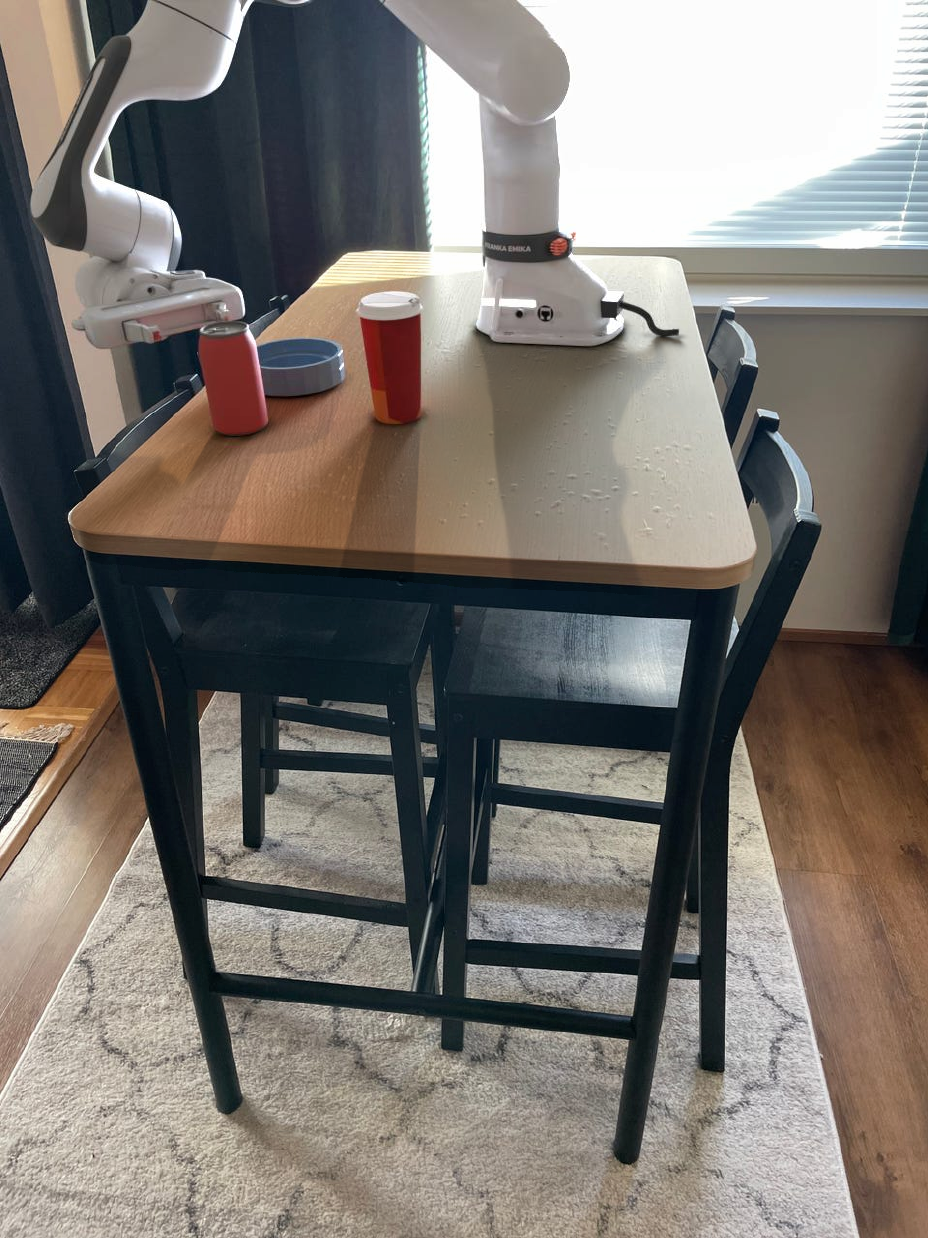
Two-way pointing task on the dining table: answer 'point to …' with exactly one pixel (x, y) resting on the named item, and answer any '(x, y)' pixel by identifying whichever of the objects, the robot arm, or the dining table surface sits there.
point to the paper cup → (393, 354)
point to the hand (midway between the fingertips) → (191, 327)
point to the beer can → (232, 378)
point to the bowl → (300, 366)
